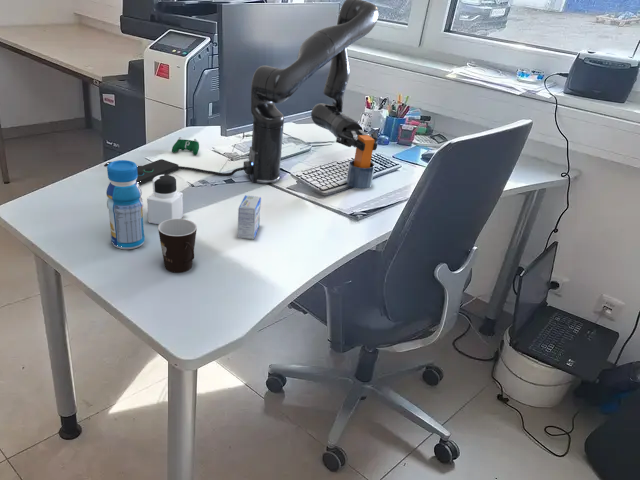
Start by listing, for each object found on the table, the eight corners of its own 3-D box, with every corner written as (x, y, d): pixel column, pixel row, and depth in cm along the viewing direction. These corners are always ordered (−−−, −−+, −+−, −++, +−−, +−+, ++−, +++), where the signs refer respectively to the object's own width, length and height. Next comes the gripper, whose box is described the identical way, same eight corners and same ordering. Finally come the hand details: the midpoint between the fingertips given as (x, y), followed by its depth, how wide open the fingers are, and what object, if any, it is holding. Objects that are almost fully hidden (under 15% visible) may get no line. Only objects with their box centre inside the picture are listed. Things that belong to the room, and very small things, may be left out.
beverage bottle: (129, 254, 133) (123, 174, 122) (103, 244, 136) (95, 165, 125) (152, 240, 139) (148, 163, 128) (126, 231, 142) (120, 155, 131)
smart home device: (115, 174, 169) (160, 158, 183) (115, 180, 170) (161, 163, 184) (134, 182, 165) (179, 164, 179) (134, 187, 166) (179, 169, 180)
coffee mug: (160, 256, 132) (158, 218, 127) (196, 256, 133) (196, 218, 128) (158, 282, 123) (156, 242, 117) (197, 282, 124) (197, 242, 118)
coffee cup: (352, 190, 171) (356, 169, 167) (342, 181, 177) (345, 160, 173) (375, 189, 173) (379, 167, 169) (364, 179, 179) (368, 158, 175)
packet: (357, 184, 172) (364, 140, 164) (351, 179, 176) (358, 135, 168) (366, 184, 173) (374, 139, 165) (360, 178, 176) (367, 134, 169)
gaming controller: (198, 159, 194) (202, 143, 195) (196, 153, 190) (200, 137, 191) (173, 155, 195) (177, 140, 196) (170, 150, 191) (174, 135, 193)
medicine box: (254, 240, 141) (256, 209, 137) (237, 237, 142) (238, 206, 137) (259, 226, 148) (261, 196, 143) (243, 224, 148) (244, 194, 144)
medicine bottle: (183, 216, 151) (182, 174, 144) (172, 227, 145) (171, 184, 139) (159, 212, 153) (157, 170, 146) (147, 222, 147) (145, 179, 140)
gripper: (327, 118, 175) (349, 135, 161) (368, 117, 178) (393, 133, 165) (324, 142, 179) (345, 160, 166) (364, 140, 183) (388, 158, 169)
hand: (369, 147), depth 165 cm, fingers closed on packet, 3 cm apart
